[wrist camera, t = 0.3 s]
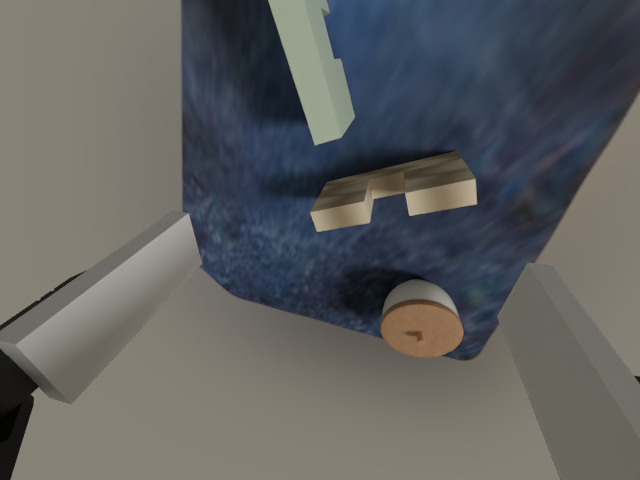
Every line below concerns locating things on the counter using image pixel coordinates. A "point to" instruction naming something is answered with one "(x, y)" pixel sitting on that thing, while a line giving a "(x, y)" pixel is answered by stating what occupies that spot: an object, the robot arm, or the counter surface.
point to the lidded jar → (420, 320)
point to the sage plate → (314, 67)
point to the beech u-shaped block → (396, 190)
